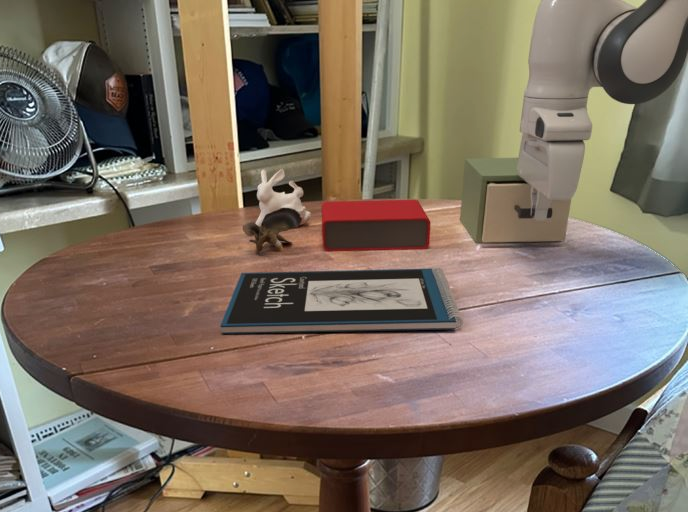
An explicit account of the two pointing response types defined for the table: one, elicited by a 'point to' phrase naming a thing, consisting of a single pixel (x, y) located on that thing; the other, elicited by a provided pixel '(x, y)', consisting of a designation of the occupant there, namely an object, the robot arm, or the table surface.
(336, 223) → the red device housing
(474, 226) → the cabinet
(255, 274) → the sketchbook
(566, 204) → the drawer
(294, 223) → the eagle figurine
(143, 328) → the table surface
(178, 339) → the table surface
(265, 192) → the rabbit figurine
